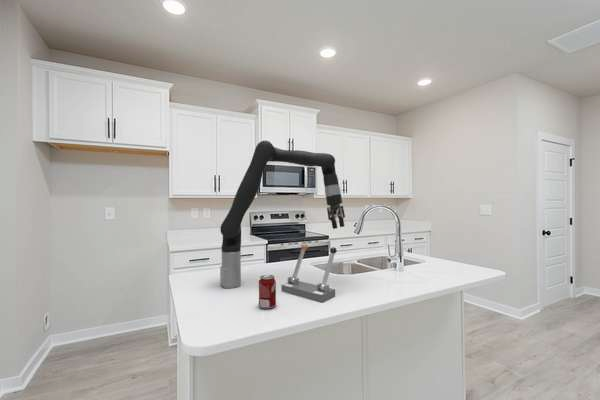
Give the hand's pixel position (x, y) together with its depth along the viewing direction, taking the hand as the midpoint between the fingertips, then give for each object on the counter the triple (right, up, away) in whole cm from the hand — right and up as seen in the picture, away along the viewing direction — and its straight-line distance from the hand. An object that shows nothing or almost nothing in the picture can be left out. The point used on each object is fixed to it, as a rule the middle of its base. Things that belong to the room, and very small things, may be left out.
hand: (338, 227), depth 137 cm
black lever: (-9, -25, -15) cm, 31 cm away
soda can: (-32, -29, -24) cm, 50 cm away
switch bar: (-15, -29, -10) cm, 34 cm away
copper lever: (-22, -26, -5) cm, 34 cm away
